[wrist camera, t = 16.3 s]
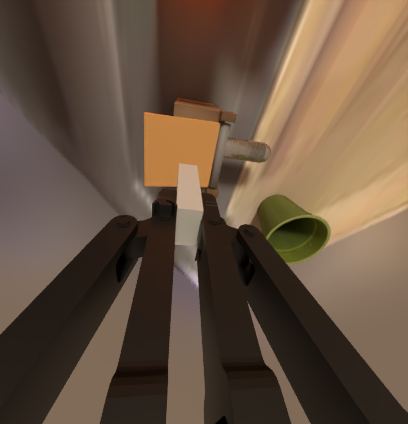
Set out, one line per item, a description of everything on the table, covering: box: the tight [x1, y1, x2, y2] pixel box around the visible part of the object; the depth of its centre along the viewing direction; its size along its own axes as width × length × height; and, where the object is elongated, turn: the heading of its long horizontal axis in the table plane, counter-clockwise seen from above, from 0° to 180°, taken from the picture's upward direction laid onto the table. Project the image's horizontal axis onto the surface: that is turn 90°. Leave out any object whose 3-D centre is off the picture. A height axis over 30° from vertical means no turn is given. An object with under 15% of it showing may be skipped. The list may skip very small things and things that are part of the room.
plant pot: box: [258, 195, 331, 265], centre depth 38 cm, size 12×12×11 cm
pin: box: [223, 137, 271, 163], centre depth 29 cm, size 5×17×5 cm, turn 81°
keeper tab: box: [144, 112, 231, 188], centre depth 23 cm, size 8×10×1 cm
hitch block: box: [174, 98, 237, 197], centre depth 28 cm, size 10×7×12 cm, turn 171°
